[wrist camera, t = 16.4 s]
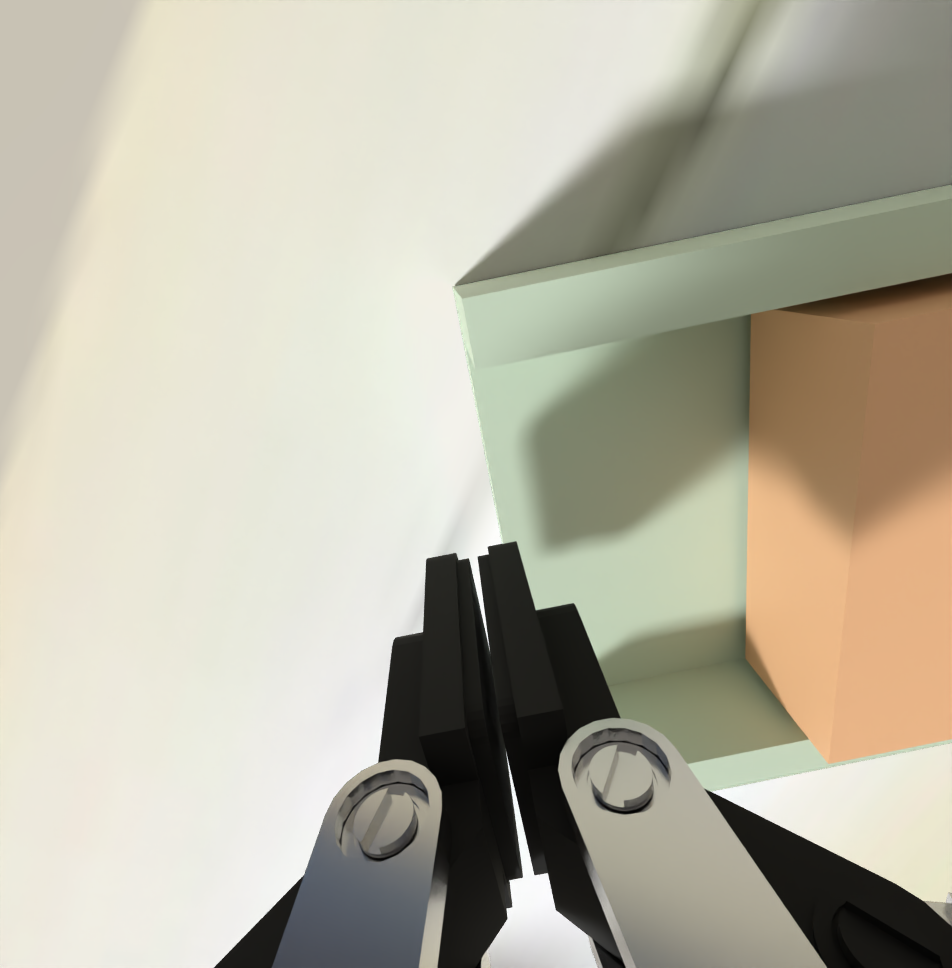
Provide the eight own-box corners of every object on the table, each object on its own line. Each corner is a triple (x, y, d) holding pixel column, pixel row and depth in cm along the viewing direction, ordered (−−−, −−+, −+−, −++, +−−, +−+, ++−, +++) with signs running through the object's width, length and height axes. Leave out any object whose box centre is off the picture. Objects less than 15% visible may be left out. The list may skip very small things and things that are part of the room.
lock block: (964, 262, 10) (1171, 263, 7) (905, 626, 13) (1030, 723, 10) (751, 306, 10) (874, 323, 7) (745, 658, 13) (828, 763, 10)
